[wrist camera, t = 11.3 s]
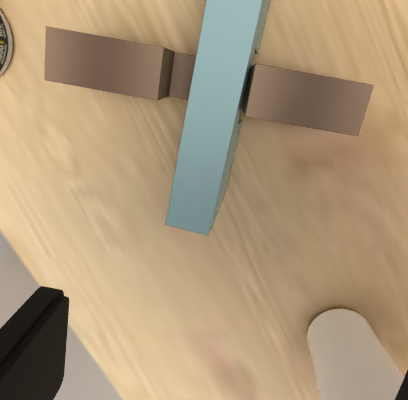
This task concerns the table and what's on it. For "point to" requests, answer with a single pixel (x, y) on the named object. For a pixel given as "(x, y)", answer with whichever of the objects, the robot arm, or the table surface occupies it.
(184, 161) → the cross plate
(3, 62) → the pill bottle
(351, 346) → the drinking glass
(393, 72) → the table surface
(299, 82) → the slotted stand
